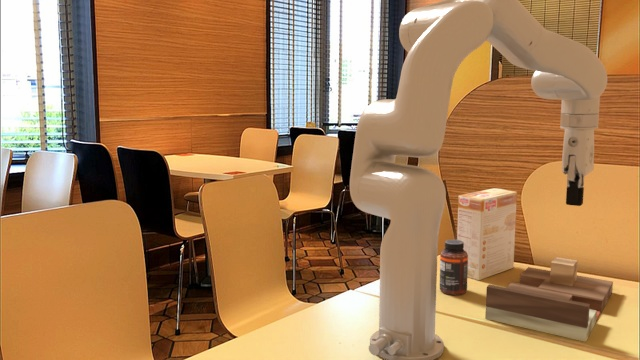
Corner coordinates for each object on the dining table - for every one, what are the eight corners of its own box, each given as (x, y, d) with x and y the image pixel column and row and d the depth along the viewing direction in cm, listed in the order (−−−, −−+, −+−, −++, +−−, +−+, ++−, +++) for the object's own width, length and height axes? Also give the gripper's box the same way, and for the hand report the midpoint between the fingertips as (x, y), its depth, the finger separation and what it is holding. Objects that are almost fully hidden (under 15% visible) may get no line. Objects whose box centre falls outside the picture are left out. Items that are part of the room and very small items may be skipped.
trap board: (585, 341, 100) (588, 306, 99) (485, 318, 110) (486, 286, 109) (612, 292, 124) (614, 263, 123) (527, 277, 135) (529, 250, 134)
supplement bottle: (464, 287, 128) (466, 238, 126) (468, 296, 122) (471, 245, 120) (437, 286, 129) (439, 237, 127) (440, 295, 123) (442, 244, 121)
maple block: (571, 286, 121) (573, 265, 120) (549, 282, 124) (551, 262, 123) (576, 280, 125) (577, 260, 124) (554, 276, 127) (555, 257, 127)
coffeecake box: (490, 261, 147) (493, 187, 144) (514, 268, 141) (519, 191, 138) (454, 273, 137) (457, 194, 134) (479, 281, 132) (482, 198, 129)
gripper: (591, 124, 115) (585, 213, 118) (604, 120, 127) (599, 200, 130) (552, 123, 119) (547, 209, 122) (568, 119, 131) (564, 197, 134)
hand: (574, 204), depth 126 cm, fingers closed
